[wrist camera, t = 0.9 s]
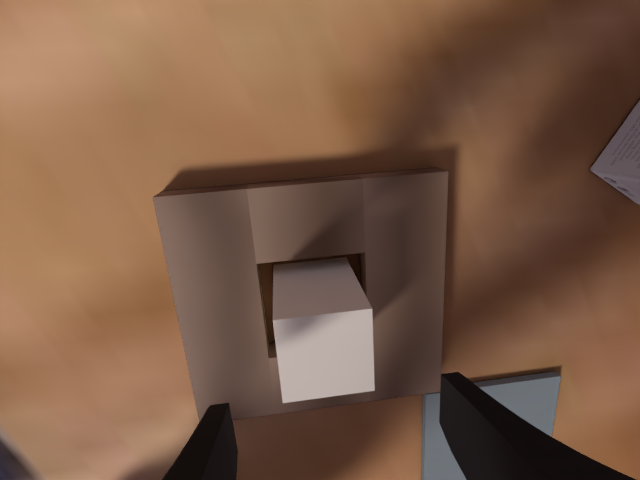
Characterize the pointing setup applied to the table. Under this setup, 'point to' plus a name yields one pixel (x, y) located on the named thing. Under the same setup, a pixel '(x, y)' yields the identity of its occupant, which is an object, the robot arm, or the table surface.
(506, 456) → the robot arm
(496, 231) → the table surface
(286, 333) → the cream block
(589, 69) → the table surface
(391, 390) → the puzzle board
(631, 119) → the skincare box
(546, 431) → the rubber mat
